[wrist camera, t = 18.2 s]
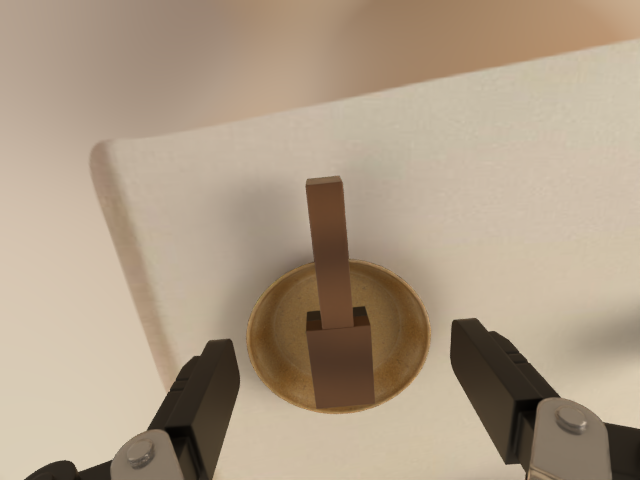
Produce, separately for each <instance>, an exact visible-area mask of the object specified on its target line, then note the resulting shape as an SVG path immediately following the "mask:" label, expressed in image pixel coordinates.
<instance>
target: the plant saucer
mask: <svg viewBox="0 0 640 480" xmlns="http://www.w3.org/2000/svg"><path fill="white" fill-rule="evenodd" d="M349 269H350V282H351V294H352V307H361V306H365V307H366V311H367V315H368V318H369V321H370V325H371V339H372V356H373V374H374V391H375V404H367V405H356V406H344V407H333V408H322V409H316V402H315V395H314V388H313V381H312V373H311V366H310V359H309V351H308V344H307V337H306V318H307V312H309V311H319V310H320V306H319V297H318V289H317V280H316V272H315V263H314V262H312V263H309V264H306V265H303V266H300V267H298V268H296V269H294V270H292V271H290V272H288V273H286V274H285V275H283V276H282V277H280V278H279V279H278V280H276V281H275V282H274V283H273V284H271V285H270V286H269V287H268V288H267V289H266V291H265V292H264V293H263V294H262V295H261V297H260V298H259V299H258V301H257V303H256V304H255V306H254V308H253V310H252V313H251V315H250V318H249V321H248V327H247V333H246V343H247V350H248V354H249V357H250V361H251V364H252V365H253V368H254V370H255V371H256V373H257V375H258V376H259V378H260V379H261V380H262V382H263V383H264V384H265V385H266V386H267V387H268V388H269V389H270V390H271V391H272V392H273V393H275V394H276V395H277V396H279V397H280V398H282V399H284V400H285V401H287V402H289V403H290V404H293V405H295V406H298V407H300V408H304V409H307V410H310V411H314V412H319V413H327V414H345V413H354V412H360V411H364V410H367V409H370V408H374V407H376V406H379V405H381V404H383V403H385V402H387V401H389V400H390V399H392V398H394V397H395V396H397V395H398V394H399V393H400V392H402V391H403V390H404V389H405V388H406V387H408V386H409V385H410V383H412V381H413V380H414V379H415V378H416V377H417V375H418V374H419V372H420V370H421V369H422V366H423V365H424V363H425V360H426V357H427V355H428V352H429V348H430V340H431V338H430V337H431V329H430V322H429V317H428V314H427V311H426V309H425V307H424V305H423V303H422V301H421V299H420V298H419V296H418V295H417V293H416V292H415V291H414V290H413V289H412V288H411V286H410V285H409V284H408V283H406V282H405V281H404V280H403V279H402V278H401V277H399V276H398V275H396V274H395V273H393V272H391V271H390V270H388V269H386V268H383V267H381V266H379V265H376V264H373V263H369V262H366V261H361V260H355V259H349Z"/></svg>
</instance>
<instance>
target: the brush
mask: <svg viewBox="0 0 640 480" xmlns="http://www.w3.org/2000/svg"><path fill="white" fill-rule="evenodd" d="M306 195H307V203H308V212H309V220H310V229H311V237H312V246H313V255H314V263H315V272H316V280H317V289H318V297H319V306H320V310H319V311H309V312H307V318H306V337H307V344H308V351H309V359H310V366H311V373H312V381H313V388H314V395H315V402H316V409H322V408H333V407H344V406H356V405H367V404H375V391H374V374H373V356H372V339H371V325H370V321H369V318H368V315H367V311H366V307H365V306H361V307H352V294H351V282H350V269H349V256H348V243H347V230H346V218H345V205H344V192H343V182H342V180H341V178H340V176H332V177H322V178H313V179H307V181H306Z"/></svg>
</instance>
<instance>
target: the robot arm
mask: <svg viewBox="0 0 640 480" xmlns="http://www.w3.org/2000/svg"><path fill="white" fill-rule="evenodd" d="M450 359H451V365H452V368H453V371H454V373H455V375H456V377H457V379H458V381H459V382H460V384H461V386H462V388H463V390H464V391H465V393H466V395H467V397H468V398H469V400H470V402H471V404H472V406H473V407H474V409H475V411H476V413H477V415H478V416H479V418H480V420H481V422H482V423H483V425H484V427H485V429H486V431H487V432H488V434H489V436H490V438H491V440H492V441H493V443H494V445H495V447H496V449H497V450H498V452H499V454H500V456H501V457H502V459H503V461H504V463H505V465H508V464H521V465H522V467H523V469H524V470H525V472H526V475H525V480H640V429H637V428H631V427H626V426H620V425H615V424H609V423H605V422H602V420H601V419H600V418H599V417H598V416H597V415H596V414H594V413H593V412H592V411H590V410H589V409H588V408H586V407H584V406H583V405H580V404H578V403H576V402H574V401H571V400H568V399H563V398H561V397H560V396H559V395H558V394H557V393H556V392H555V390H554V389H553V388H552V387H551V386H550V385H549V384H548V383H547V382H546V380H545V379H544V378H543V377H542V376H541V375H540V374H539V373H538V372H537V371H536V369H535V368H534V367H533V366H532V365H531V364H530V363H528V362H527V359H526V358H525V357H524V356H523V355H522V354H521V353H519V351H518V350H517V348H516V347H515V346H514V345H513V344H512V343H511V342H510V341H509V340H508V339H506V338H505V337H503V336H501V335H500V334H498V333H497V332H495V331H490V332H488V331H487V330H486V329H485V327H484V326H483V325H482V324H481V323H480V321H479V320H478V319H476V318H469V319H458V320H453V322H452V328H451V348H450ZM239 386H240V374H239V369H238V364H237V360H236V355H235V351H234V347H233V343H232V340H231V339H221V340H210V341H208V343H207V344H206V346H205V348H204V350H203V352H202V354H201V356H194V357H193V358H192V359H191V360H190V361H189V362H187V363H186V364H185V365H184V366H183V367H182V369H181V371H180V373H179V374H178V376H177V378H176V382H174V383H173V385H172V387H171V388H170V392H168V394H167V396H166V397H165V399H164V401H163V403H162V405H161V406H160V408H159V410H158V412H157V413H156V415H155V417H154V419H153V421H152V422H151V424H150V426H149V427H148V429H147V431H145V432H143V433H140V434H138V435H137V436H135V437H133V438H132V439H131V440H129V441H128V442H127V443H125V444H124V445H123V446H122V447H121V448H120V450H119V451H118V452H117V454H116V455H115V457H114V459H113V460H110V461H108V462H105V463H102V464H100V465H97V466H94V467H91V468H89V469H86V470H83V471H80V472H78V471H77V469H76V467H75V465H74V464H73V463H72V462H70V461H66V460H64V461H57V462H54V463H50V464H48V465H46V466H44V467H42V468H40V469H38V470H37V471H35V472H34V473H32V474H31V475H30V476H28V477H27V478H26V479H24V480H212V478H213V475H214V471H215V468H216V465H217V461H218V458H219V455H220V451H221V448H222V445H223V441H224V438H225V435H226V431H227V428H228V425H229V421H230V418H231V415H232V411H233V408H234V405H235V401H236V398H237V395H238V391H239Z"/></svg>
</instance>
